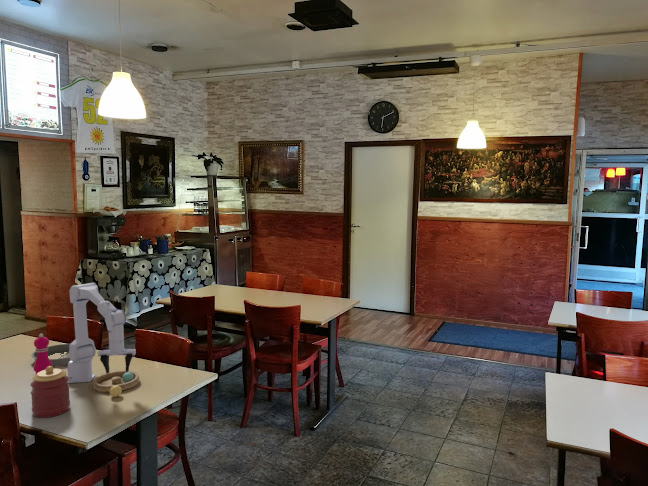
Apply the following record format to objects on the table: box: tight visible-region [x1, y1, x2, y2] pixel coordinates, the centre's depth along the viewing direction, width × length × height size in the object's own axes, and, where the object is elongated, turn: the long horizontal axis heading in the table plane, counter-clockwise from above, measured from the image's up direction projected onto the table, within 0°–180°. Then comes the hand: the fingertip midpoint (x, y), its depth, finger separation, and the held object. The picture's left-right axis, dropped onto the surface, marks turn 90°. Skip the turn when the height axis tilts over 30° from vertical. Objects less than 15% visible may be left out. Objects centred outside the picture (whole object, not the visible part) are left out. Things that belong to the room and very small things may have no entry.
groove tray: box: [92, 369, 140, 394], centre depth 216 cm, size 18×18×3 cm
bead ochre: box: [109, 385, 123, 398], centre depth 203 cm, size 5×5×5 cm
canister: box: [30, 366, 71, 418], centre depth 189 cm, size 13×13×18 cm
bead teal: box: [122, 372, 134, 383], centre depth 216 cm, size 5×5×5 cm
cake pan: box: [31, 343, 71, 367], centre depth 247 cm, size 25×25×4 cm
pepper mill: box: [33, 333, 53, 375], centre depth 223 cm, size 7×7×20 cm
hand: (117, 372), depth 205 cm, fingers open, 7 cm apart
